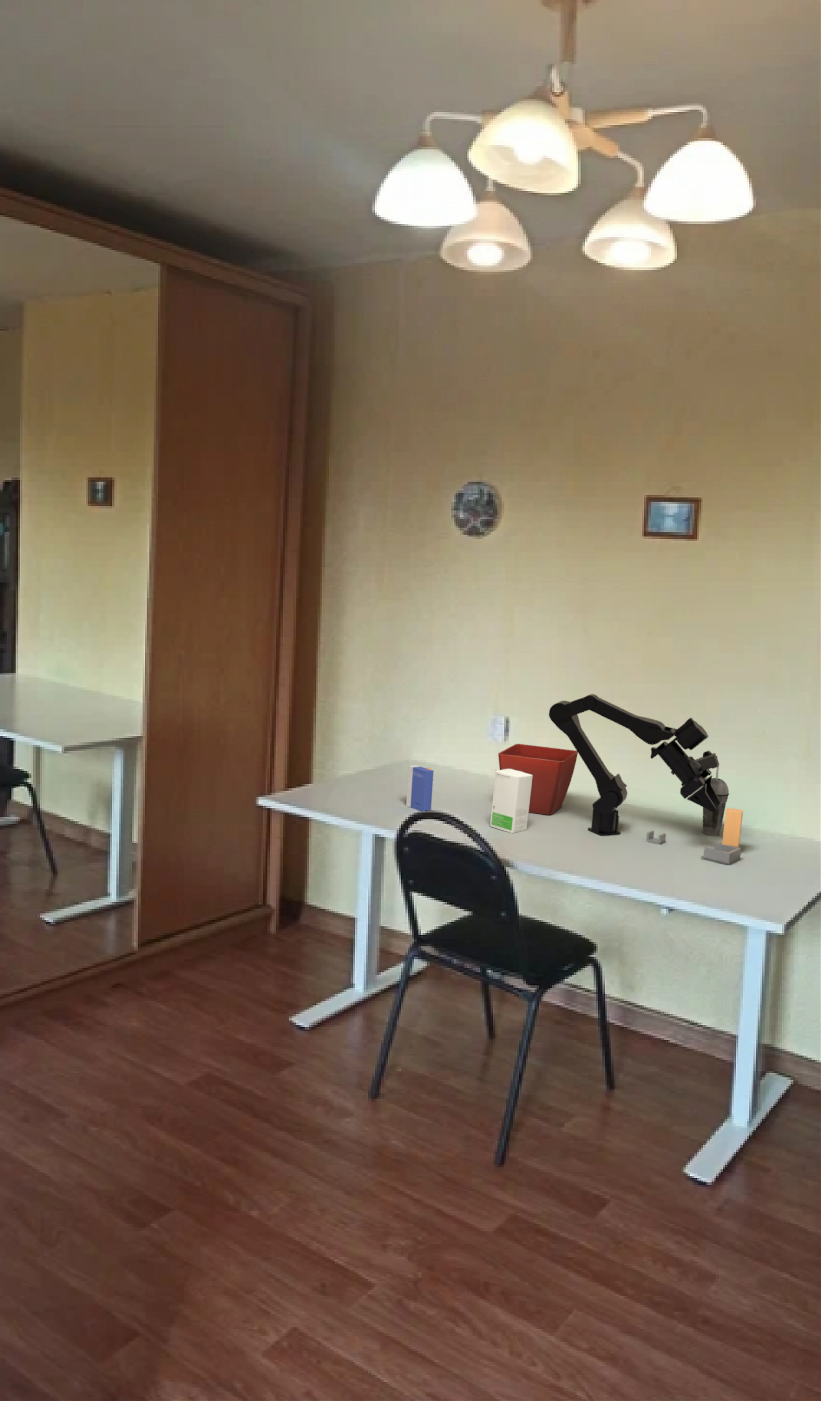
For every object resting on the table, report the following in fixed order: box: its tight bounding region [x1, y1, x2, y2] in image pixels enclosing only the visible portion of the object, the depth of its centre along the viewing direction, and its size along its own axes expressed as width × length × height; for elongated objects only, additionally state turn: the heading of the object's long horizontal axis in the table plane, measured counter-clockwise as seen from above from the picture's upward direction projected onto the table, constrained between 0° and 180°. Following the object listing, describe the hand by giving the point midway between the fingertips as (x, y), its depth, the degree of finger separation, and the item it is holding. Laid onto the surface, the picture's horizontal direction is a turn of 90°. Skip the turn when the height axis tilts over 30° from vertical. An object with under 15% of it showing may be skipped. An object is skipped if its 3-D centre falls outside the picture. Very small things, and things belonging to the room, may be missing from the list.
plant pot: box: [497, 743, 579, 816], centre depth 326 cm, size 19×19×17 cm
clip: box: [645, 830, 667, 845], centre depth 298 cm, size 3×4×2 cm
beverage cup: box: [702, 764, 730, 837], centre depth 309 cm, size 7×7×20 cm
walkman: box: [405, 764, 434, 812], centre depth 318 cm, size 8×3×12 cm, turn 39°
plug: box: [721, 807, 744, 848], centre depth 292 cm, size 4×4×11 cm
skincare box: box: [489, 769, 533, 834], centre depth 301 cm, size 8×7×16 cm
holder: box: [700, 842, 742, 866], centre depth 285 cm, size 7×7×3 cm
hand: (717, 807), depth 293 cm, fingers open, 9 cm apart
